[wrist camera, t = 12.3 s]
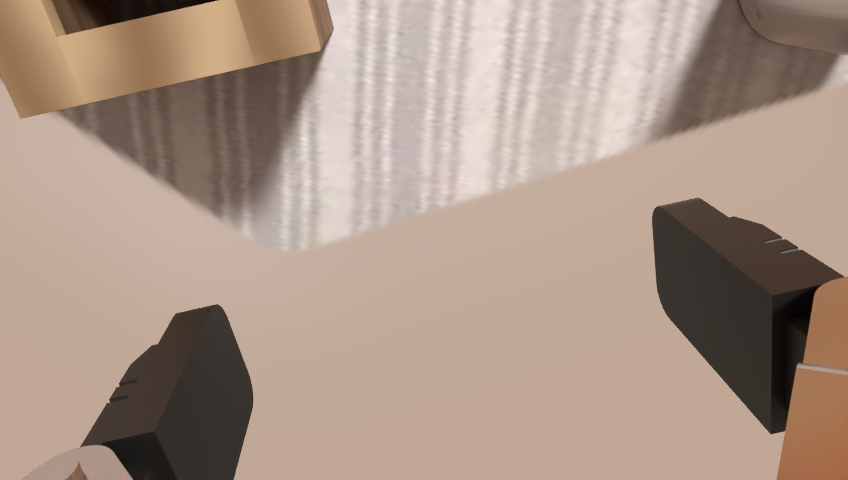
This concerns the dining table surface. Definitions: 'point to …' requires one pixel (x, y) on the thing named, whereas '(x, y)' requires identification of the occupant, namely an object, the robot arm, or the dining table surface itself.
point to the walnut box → (142, 46)
